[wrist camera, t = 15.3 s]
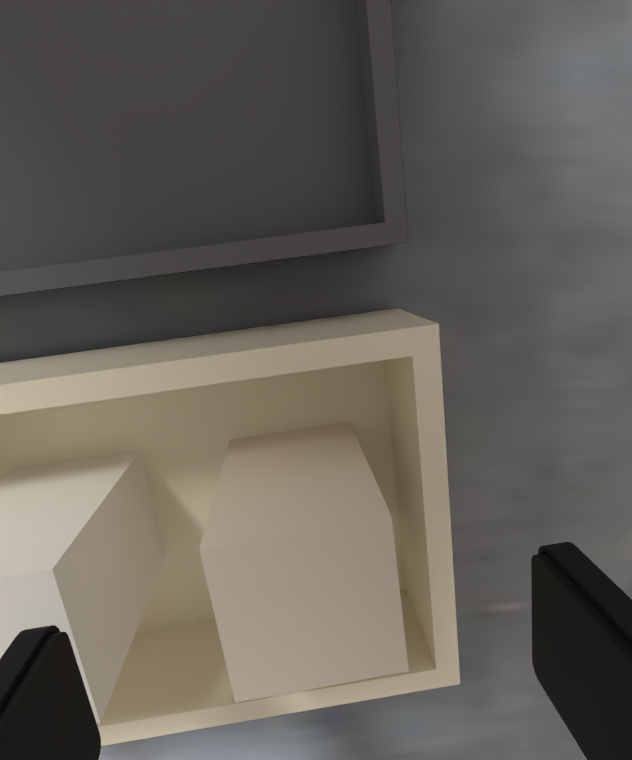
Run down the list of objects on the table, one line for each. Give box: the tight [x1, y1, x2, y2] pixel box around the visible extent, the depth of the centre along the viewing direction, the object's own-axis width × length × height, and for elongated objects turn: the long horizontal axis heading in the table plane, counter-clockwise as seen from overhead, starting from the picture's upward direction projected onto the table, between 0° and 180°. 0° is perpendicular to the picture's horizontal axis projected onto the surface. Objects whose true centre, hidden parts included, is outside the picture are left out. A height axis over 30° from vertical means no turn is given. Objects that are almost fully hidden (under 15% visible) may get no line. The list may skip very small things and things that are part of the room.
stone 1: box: [0, 451, 165, 724], centre depth 13 cm, size 4×4×6 cm
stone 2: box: [199, 421, 409, 703], centre depth 13 cm, size 4×4×6 cm
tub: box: [0, 308, 460, 746], centre depth 14 cm, size 11×15×4 cm
